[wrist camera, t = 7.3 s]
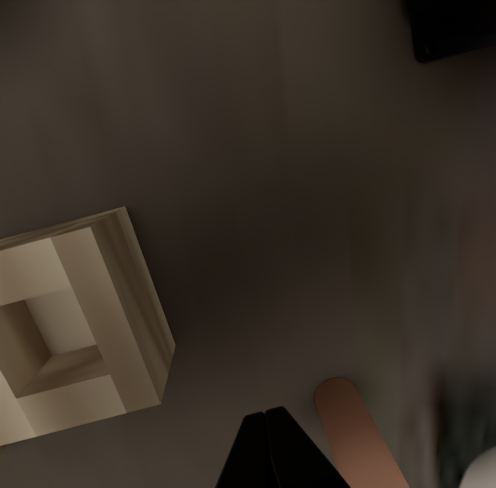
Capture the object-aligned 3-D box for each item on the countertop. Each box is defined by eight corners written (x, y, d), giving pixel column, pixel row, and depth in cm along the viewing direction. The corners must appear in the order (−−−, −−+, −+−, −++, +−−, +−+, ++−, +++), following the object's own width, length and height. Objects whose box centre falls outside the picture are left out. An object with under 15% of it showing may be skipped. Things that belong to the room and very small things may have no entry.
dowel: (353, 373, 20) (431, 512, 12) (360, 408, 21) (438, 560, 13) (310, 384, 20) (361, 530, 13) (318, 419, 21) (372, 577, 13)
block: (125, 206, 17) (90, 226, 12) (175, 345, 19) (160, 404, 15) (-73, 258, 17) (-175, 297, 13) (1, 390, 19) (-65, 462, 15)
